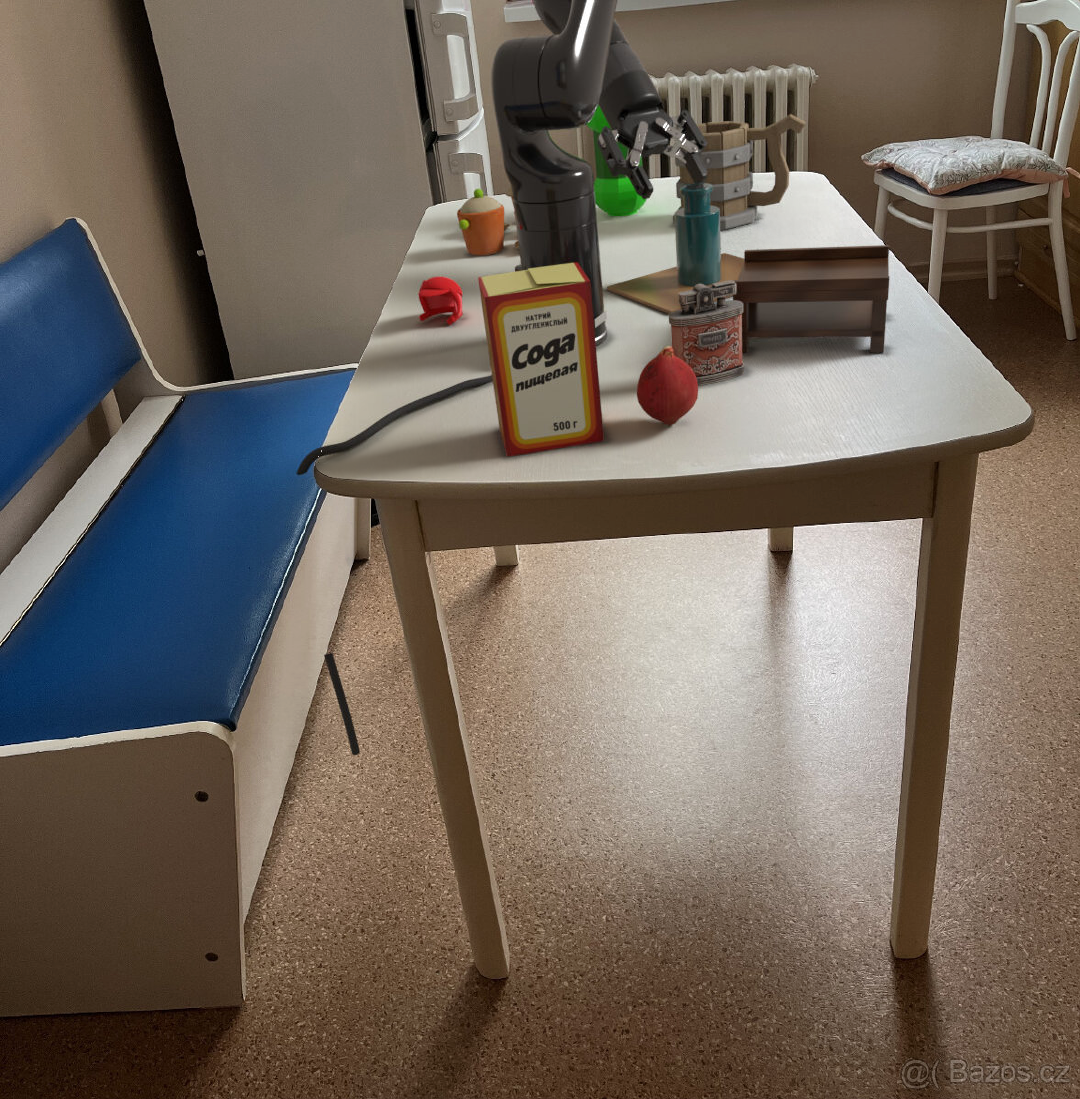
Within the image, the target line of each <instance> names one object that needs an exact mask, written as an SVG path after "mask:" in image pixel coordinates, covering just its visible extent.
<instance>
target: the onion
mask: <svg viewBox="0 0 1080 1099" xmlns="http://www.w3.org/2000/svg"><path fill="white" fill-rule="evenodd" d="M673 352H674V350H673V348H672V345H669V346H668V345H667V346H666V345H665V346H664V347H663V348H662V349H661V351H660V352H659V353H658V354H657V355H656V356H655V357H653V358H652V359H651V360H650V361H648V363H647V364H646V365H645V366H644V367H643V369H642V371H641V372H640V374H639V377H638V380H637V385H636V386H637V387H636V397H637V402H638V404H639V406H640V407H641V409H642V410H643V411H644V413H645V414H646V415H647V416H649V417H650V418H652V419H654V420H656V421H658V422H660V423H662V424H664V425H666V426H673V425H676V423H677V422H679V420H681V418H683V417H684V416H686V415H687V413H689V412H690V410H692V409H693V407H695V404H696V402H697V400H698V399H699V386H698V383H697V379H696V376H695V374H694V372H693V370H692V369H691V368H690V367H689V366H688V365H687V364H686V363H685V362H684V361H683V360H681V359H680V358H678V357H676V356H674V354H673Z"/></svg>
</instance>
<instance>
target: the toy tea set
mask: <svg viewBox="0 0 1080 1099" xmlns="http://www.w3.org/2000/svg"><path fill="white" fill-rule="evenodd" d="M505 196H506V197H510V198H511V202H512V206H513V207H514V202H513V195H512V188H511V186H510V187H509V188H508V189H507V190H506V191H505ZM513 214H514V215H515V211H513ZM456 216H457V220H458V227H459V228H460V230H461V233H462V237H463V240H464V244H465V248H466V250H467V253H468V254H469V255H472V256H488V255H489V256H490V255H493V254H498V253H499V252H501V251H503V249H504V246H505V242H504V241H505V231H506V230H507V229H508V228H509V227H510V226H511V225H510V223H506V222H505V207H504V205H503V204H502V203H500V202H499V201H498V200H497V199H495V198H493V197H492V196H489V195H484V191H483V190H482V189H481V188H476V189H474V191H473V196H472V197H470V198H468V199H467V200H466V201H465V202H464V203H463V204H462V206H461V207H460V208H459V209H458V210H457V211H456ZM514 247H515V249H516V250H519V244H518V240H517V241H515V243H514Z"/></svg>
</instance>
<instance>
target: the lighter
mask: <svg viewBox="0 0 1080 1099" xmlns="http://www.w3.org/2000/svg"><path fill="white" fill-rule="evenodd" d="M734 294H736V283H734V281H732V280H730V281H725V282H720V283H715V284H712V286H708V287H707V286H705V285H703V284H696V285H695V286H694V288H693V289H692V290H688V291H684V292H680V293H679V303H680V306H681V310H678V311H674V312H671V313H670V314H668V323H669V325H670V338H671V347H672V348H673V350H674V352H673V354H674V356H676V357H678V358H680V359H681V360H683V361H684V362H685V363H686V364H687V365H688V366H689V367H690V368H691V369H692V370H693V372H694V374H695V376H696V379H697V383H698V387H699V386H703V385H709V384H714V383H718V382H722V381H727V380H731V379H733V378H736V377H739V376H741V375H743V374H744V373H745V363H744V362H743V353H742V312H743V302H741V301H737V300H733V299H730V300H729V299H727V300H726V298H724V296H729V295H734ZM714 298H717V301H715V302H714Z"/></svg>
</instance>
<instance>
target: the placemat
mask: <svg viewBox="0 0 1080 1099" xmlns="http://www.w3.org/2000/svg"><path fill="white" fill-rule="evenodd" d="M744 262H745V261H744V257H740V256H736V255H734V254H729V253H726V252H723V253H721V280H720V281H718V282H716V283H720V282H725V281H730V280H732V281H733V280H738V278H739V275H740V273H741V270H742V267H743V265H744ZM714 284H715V283H714ZM705 286H707V287H708V286H712V284H710V285H705ZM693 288H694V286H685V285H682V284H679V283H678V281H677V266H673V267H670V268H666V269H663V270H660V271H656V272H652V273H649V274H645V275H642V276H639V277H635V278H631V279H628V280H624V281H620V282H618V283H614V284H611V285H606V290H607V291H609V292H612V293H614V294H616V295H619V296H621V297H624V298H627V299H630V300H632V301H635V302H637V303H640V304H641V305H645V306H647V307H650V308H652V309H655V310H657V311H660V312H663V313H665V314H667V315H669V314H670V313H671V312H674V311H678V310H681V306H680V303H679V293H680V292H684V291H688V290H692V289H693ZM732 297H733V295H729V296H724V298H725V299H727V298H732ZM714 302H717V298H714Z"/></svg>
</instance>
